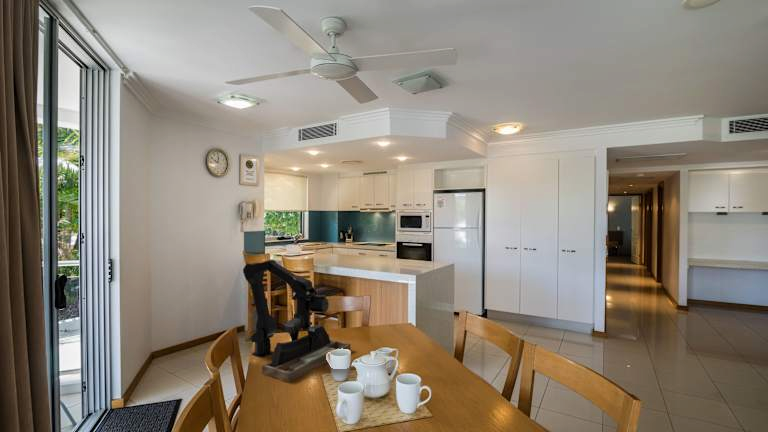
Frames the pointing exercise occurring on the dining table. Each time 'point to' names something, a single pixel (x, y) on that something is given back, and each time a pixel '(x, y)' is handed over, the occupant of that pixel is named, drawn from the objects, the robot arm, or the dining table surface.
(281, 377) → the tray
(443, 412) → the dining table surface
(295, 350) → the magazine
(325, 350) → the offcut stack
